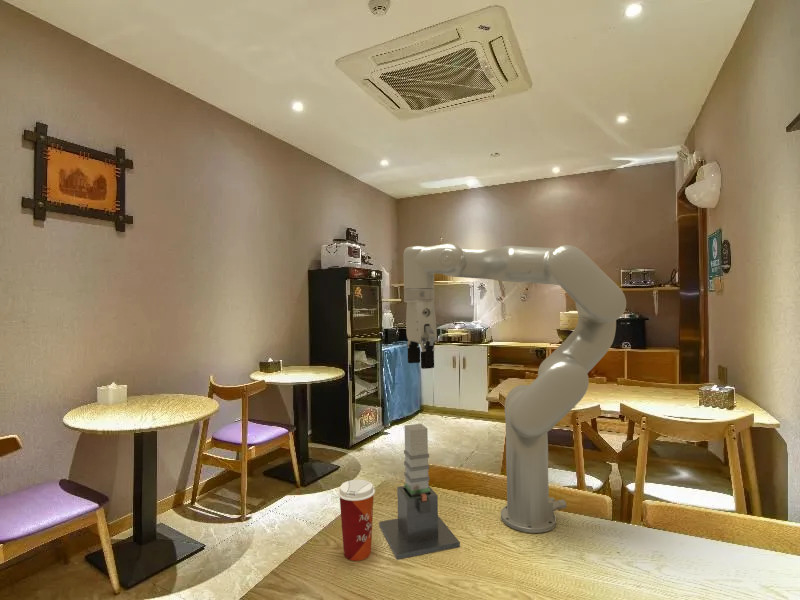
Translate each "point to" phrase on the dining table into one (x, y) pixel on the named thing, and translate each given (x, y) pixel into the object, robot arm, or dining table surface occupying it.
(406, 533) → the stand base
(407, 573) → the dining table surface
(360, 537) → the paper cup
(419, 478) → the column
